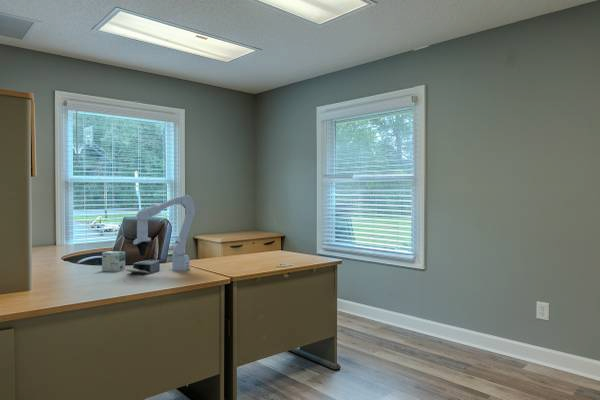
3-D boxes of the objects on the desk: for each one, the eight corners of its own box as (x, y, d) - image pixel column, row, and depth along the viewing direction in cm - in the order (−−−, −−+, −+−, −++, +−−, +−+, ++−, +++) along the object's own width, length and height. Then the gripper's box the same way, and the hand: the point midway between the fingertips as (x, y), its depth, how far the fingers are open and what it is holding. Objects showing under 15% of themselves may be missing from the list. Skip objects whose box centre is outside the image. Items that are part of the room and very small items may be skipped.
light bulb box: (125, 269, 244) (125, 251, 244) (119, 272, 237) (119, 252, 237) (107, 269, 245) (108, 250, 245) (101, 271, 239) (101, 252, 238)
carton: (159, 271, 242) (159, 261, 242) (150, 274, 233) (150, 264, 233) (142, 270, 244) (142, 260, 244) (132, 273, 235) (133, 263, 235)
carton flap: (149, 272, 232) (140, 268, 224) (149, 273, 232) (140, 270, 224) (132, 271, 234) (123, 267, 226) (132, 272, 234) (122, 269, 226)
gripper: (143, 230, 247) (143, 253, 247) (128, 232, 232) (128, 257, 233) (154, 230, 245) (154, 253, 246) (140, 232, 231) (139, 257, 231)
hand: (142, 255), depth 239 cm, fingers closed
